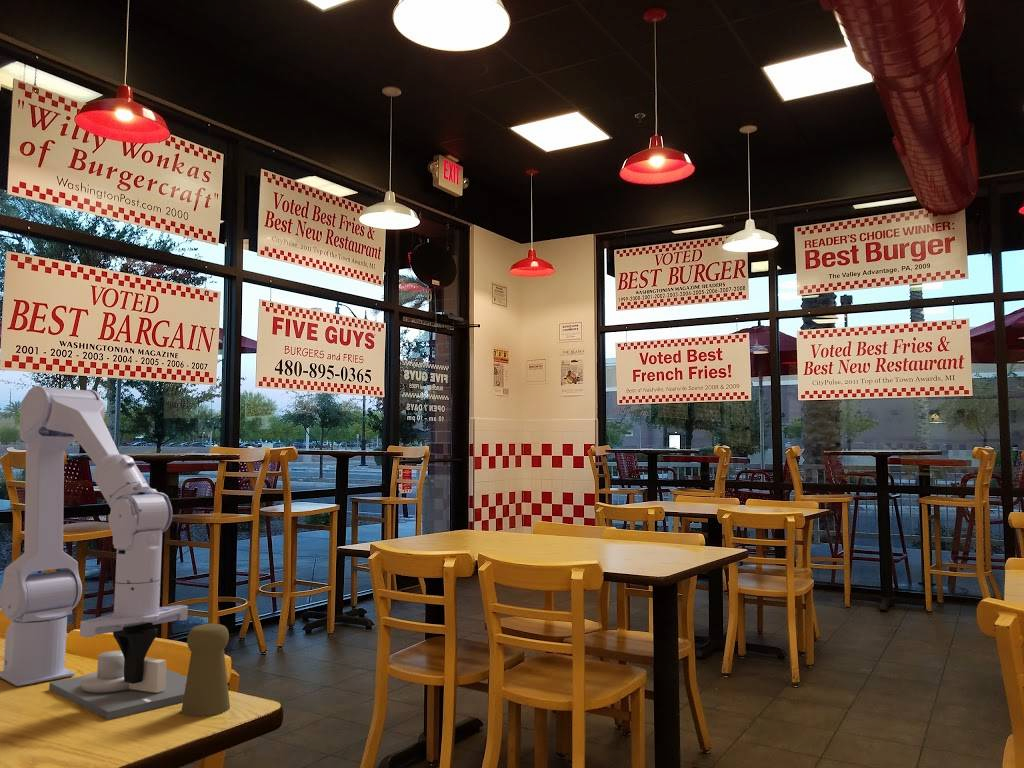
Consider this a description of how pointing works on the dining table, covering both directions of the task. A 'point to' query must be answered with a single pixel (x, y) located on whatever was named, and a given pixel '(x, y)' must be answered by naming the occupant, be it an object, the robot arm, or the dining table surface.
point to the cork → (206, 672)
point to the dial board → (122, 696)
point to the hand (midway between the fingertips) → (133, 681)
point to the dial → (113, 675)
